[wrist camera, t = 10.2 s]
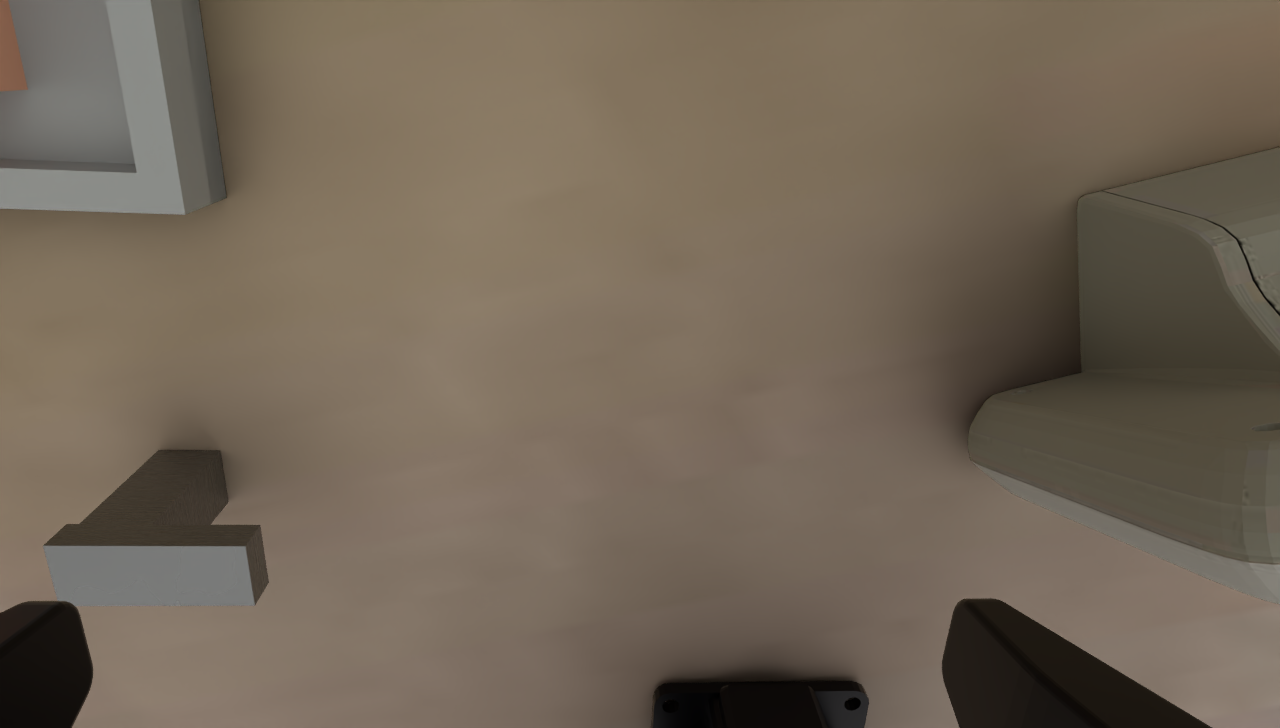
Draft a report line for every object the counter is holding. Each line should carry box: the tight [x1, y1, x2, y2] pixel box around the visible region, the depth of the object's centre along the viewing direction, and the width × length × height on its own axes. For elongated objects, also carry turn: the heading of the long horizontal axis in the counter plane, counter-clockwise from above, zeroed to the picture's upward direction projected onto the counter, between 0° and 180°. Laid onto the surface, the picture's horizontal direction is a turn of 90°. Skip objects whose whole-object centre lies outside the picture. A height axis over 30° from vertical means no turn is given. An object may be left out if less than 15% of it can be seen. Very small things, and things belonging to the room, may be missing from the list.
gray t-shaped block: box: [43, 450, 269, 606], centre depth 19 cm, size 2×4×4 cm, turn 87°
